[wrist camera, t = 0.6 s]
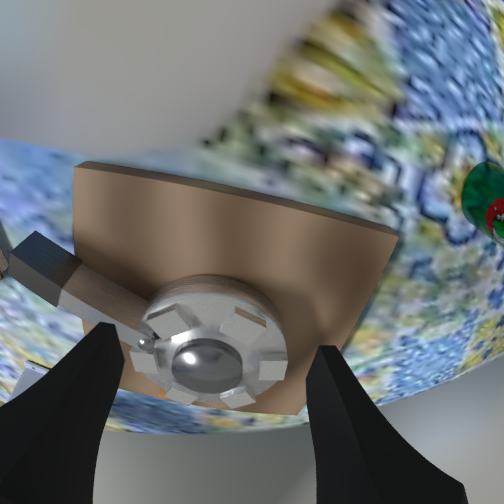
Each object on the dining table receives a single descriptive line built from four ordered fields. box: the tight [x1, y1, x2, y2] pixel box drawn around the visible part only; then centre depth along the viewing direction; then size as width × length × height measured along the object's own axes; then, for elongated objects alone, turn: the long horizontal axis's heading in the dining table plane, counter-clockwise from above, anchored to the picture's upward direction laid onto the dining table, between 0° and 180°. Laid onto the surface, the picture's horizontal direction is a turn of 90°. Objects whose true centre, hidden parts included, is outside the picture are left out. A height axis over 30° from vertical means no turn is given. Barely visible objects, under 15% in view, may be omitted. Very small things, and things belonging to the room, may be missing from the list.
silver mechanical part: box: [8, 230, 288, 409], centre depth 17 cm, size 19×10×4 cm, turn 56°
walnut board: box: [73, 161, 399, 415], centre depth 21 cm, size 20×20×2 cm
